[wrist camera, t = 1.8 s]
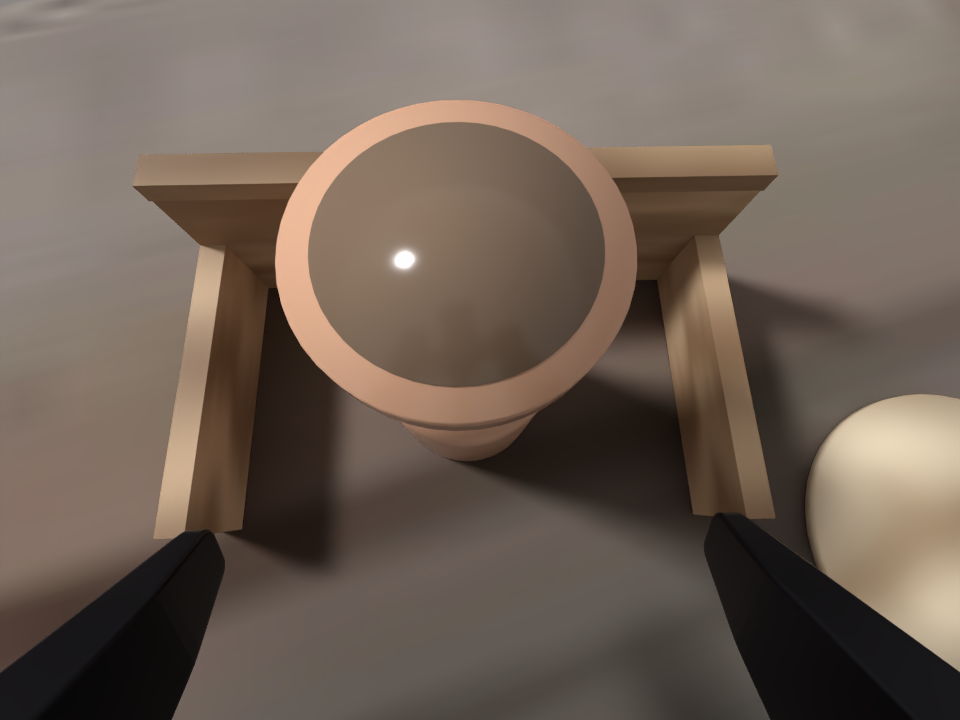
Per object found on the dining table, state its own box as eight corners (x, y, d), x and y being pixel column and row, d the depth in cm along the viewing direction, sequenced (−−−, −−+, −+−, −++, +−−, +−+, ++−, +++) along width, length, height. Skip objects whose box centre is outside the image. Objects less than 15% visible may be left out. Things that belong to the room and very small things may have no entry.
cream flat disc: (1160, 594, 19) (1181, 597, 18) (952, 771, 17) (969, 781, 16) (944, 351, 22) (957, 347, 21) (747, 481, 20) (755, 481, 19)
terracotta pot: (567, 421, 21) (712, 306, 8) (437, 497, 20) (373, 500, 7) (493, 302, 22) (518, 52, 10) (369, 367, 21) (219, 182, 9)
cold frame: (716, 513, 20) (867, 525, 12) (217, 530, 19) (52, 552, 12) (673, 259, 23) (770, 144, 15) (250, 267, 22) (139, 154, 15)
